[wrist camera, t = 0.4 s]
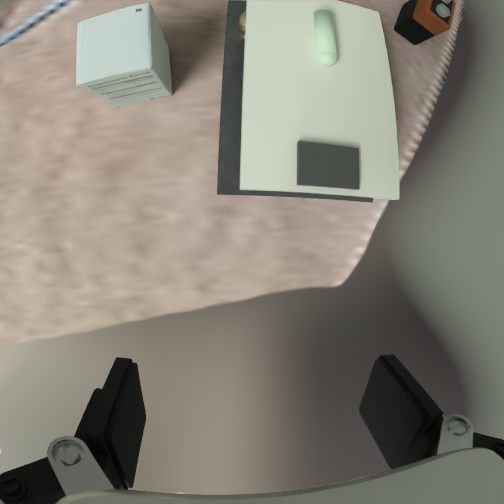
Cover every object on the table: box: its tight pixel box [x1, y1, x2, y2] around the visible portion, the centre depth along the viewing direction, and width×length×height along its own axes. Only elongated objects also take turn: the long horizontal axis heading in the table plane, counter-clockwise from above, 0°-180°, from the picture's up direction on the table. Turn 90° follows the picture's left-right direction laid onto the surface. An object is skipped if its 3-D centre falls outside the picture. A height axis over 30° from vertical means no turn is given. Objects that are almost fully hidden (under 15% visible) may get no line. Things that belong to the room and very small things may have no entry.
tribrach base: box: [217, 0, 373, 202], centre depth 32 cm, size 26×20×6 cm
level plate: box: [240, 0, 399, 200], centre depth 27 cm, size 24×16×4 cm, turn 178°
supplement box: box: [76, 2, 172, 107], centre depth 26 cm, size 7×7×13 cm
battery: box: [394, 0, 455, 45], centre depth 28 cm, size 4×7×10 cm, turn 156°
